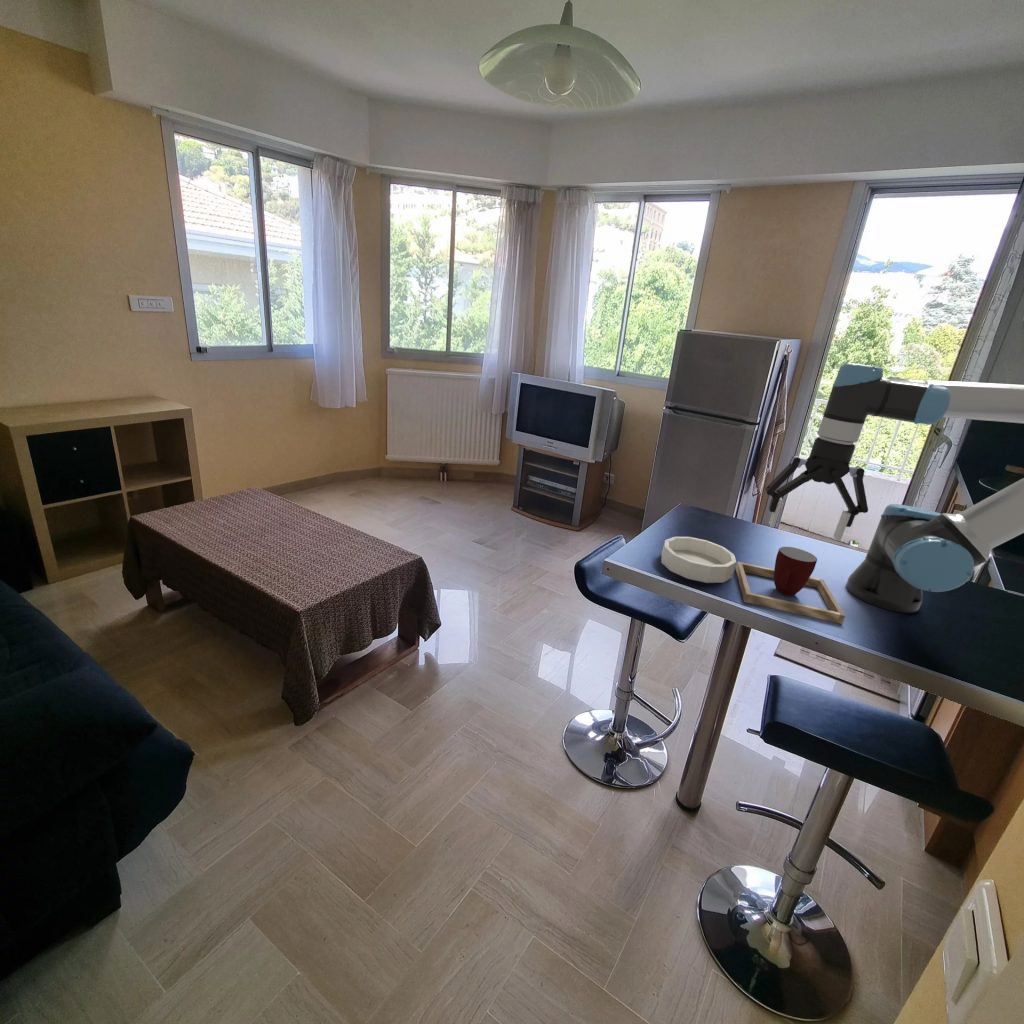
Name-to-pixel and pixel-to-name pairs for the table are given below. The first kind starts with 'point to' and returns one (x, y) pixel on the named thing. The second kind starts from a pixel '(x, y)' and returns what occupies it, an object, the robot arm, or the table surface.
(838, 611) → the frame tray
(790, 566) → the mug
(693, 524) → the table surface
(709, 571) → the bowl
